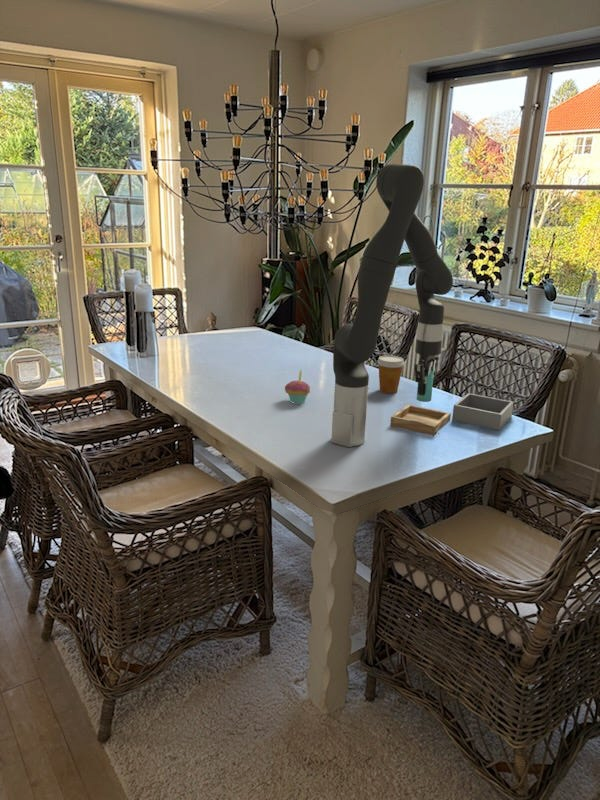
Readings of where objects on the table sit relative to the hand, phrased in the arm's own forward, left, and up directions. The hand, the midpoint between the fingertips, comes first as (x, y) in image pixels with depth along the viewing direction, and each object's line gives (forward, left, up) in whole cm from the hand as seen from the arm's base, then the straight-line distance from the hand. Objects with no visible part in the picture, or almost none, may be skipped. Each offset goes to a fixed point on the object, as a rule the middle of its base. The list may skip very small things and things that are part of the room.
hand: (424, 392), depth 185 cm
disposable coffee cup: (+25, +22, -11) cm, 35 cm away
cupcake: (-5, +42, -11) cm, 44 cm away
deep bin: (+14, -15, -10) cm, 23 cm away
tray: (0, 0, -10) cm, 10 cm away
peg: (0, 0, -2) cm, 2 cm away
